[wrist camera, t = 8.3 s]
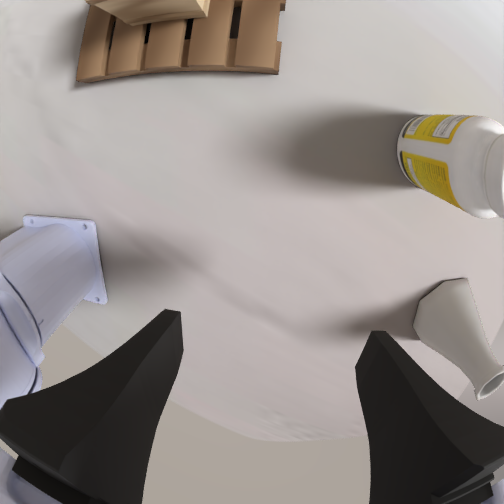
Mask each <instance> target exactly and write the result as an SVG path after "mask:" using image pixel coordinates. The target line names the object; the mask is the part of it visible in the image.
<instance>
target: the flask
mask: <svg viewBox="0 0 504 504" xmlns="http://www.w3.org/2000/svg"><path fill="white" fill-rule="evenodd" d="M413 328H414V329H415V331H416V333H417V335H418V336H419V338H420V340H421V342H423V343H424V344H426V345H427V346H428V347H430V348H432V349H433V350H435V351H436V352H438V353H439V354H441V355H442V356H444V357H445V358H447V359H448V360H449V361H451V362H452V363H453V364H455V365H456V366H457V367H459V368H460V369H461V370H462V371H463V372H464V374H465V375H466V376H467V377H468V378H469V379H470V380H471V382H472V384H473V386H474V388H475V390H474V392H475V396H476V400H477V401H478V400H481V399H483V398H485V397H488V396H489V395H490V394H492V393H493V392H494V391H495V390H496V389H498V388H499V387H500V386H501V385H502V383H503V382H504V365H503V366H501V365H500V364H499V362H498V361H497V359H496V357H495V356H494V354H493V352H492V349H491V347H490V345H489V342H488V340H487V338H486V335H485V331H484V328H483V325H482V321H481V318H480V315H479V312H478V309H477V305H476V302H475V299H474V296H473V293H472V290H471V287H470V284H469V282H468V279H467V278H465V279H458V280H451V281H444V282H443V283H442V284H441V285H439V286H438V287H437V288H436V289H434V290H433V291H432V292H431V293H429V294H428V295H427V296H426V297H424V298H423V299H422V300H420V302H419V306H418V310H417V313H416V317H415V320H414V324H413Z"/></svg>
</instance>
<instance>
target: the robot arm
mask: <svg viewBox="0 0 504 504" xmlns="http://www.w3.org/2000/svg"><path fill="white" fill-rule="evenodd" d="M23 223H24V227H23V228H21V229H19V230H17V231H16V232H14V233H13V234H11V235H9V236H8V237H6V238H4V239H3V240H1V241H0V439H2V440H3V441H4V442H5V443H6V444H7V445H8V446H9V447H10V448H11V449H12V450H13V451H15V452H16V453H17V454H18V455H19V456H18V458H17V460H15V459H14V458H13V457H12V456H10V455H9V454H8V453H7V452H5V451H4V450H3V449H1V448H0V504H142V497H143V490H144V484H145V478H146V472H147V466H148V462H149V457H150V453H151V448H152V444H153V440H154V436H155V432H156V428H157V425H158V422H159V419H160V416H161V414H162V411H163V409H164V406H165V404H166V401H167V399H168V396H169V394H170V391H171V389H172V386H173V384H174V381H175V379H176V376H177V374H178V370H179V367H180V363H181V359H182V355H183V351H184V349H183V338H182V325H181V312H180V311H174V310H168V309H165V310H163V311H162V312H161V313H160V314H158V315H157V316H156V317H155V318H154V319H153V320H152V321H151V322H149V323H148V324H147V325H146V326H145V327H144V328H143V329H141V330H140V331H139V332H138V333H137V334H135V335H134V336H133V337H132V338H131V339H129V340H128V341H127V342H126V343H124V344H123V345H122V346H120V347H119V348H118V349H116V350H115V351H114V352H112V353H111V354H110V355H108V356H107V357H106V358H104V359H103V360H101V361H100V362H98V363H96V364H95V365H93V366H92V367H90V368H88V369H87V370H85V371H83V372H81V373H79V374H77V375H75V376H73V377H71V378H69V379H67V380H65V381H63V382H61V383H58V384H56V385H54V386H51V387H49V388H46V389H43V390H40V389H41V385H42V373H41V370H40V368H39V365H40V363H41V362H42V361H43V359H44V358H45V355H44V354H43V352H42V349H41V348H42V346H43V345H44V344H45V342H46V341H47V340H48V339H49V338H50V336H51V335H52V334H53V333H54V331H55V330H56V329H57V328H58V327H59V325H60V324H61V323H62V322H63V321H64V320H65V319H66V317H67V316H68V315H69V314H70V313H71V312H72V311H73V309H74V308H75V307H76V306H77V305H78V304H79V303H80V302H81V300H82V299H83V300H87V301H91V302H95V303H99V304H106V303H107V301H108V298H107V293H106V289H105V283H104V278H103V272H102V267H101V260H100V254H99V247H98V240H97V231H96V225H95V223H94V222H93V221H92V220H84V219H72V218H60V217H48V216H35V215H26V216H24V217H23ZM85 225H86V226H87V228H86V227H85ZM97 297H98V298H99V299H98V298H97ZM355 370H356V381H357V389H358V393H359V398H360V402H361V406H362V411H363V415H364V419H365V424H366V428H367V433H368V439H369V446H370V462H371V486H370V501H369V504H504V479H502V480H501V481H499V482H497V483H496V484H494V485H493V486H491V484H490V481H492V480H493V479H494V475H493V472H494V471H495V470H497V469H498V468H499V467H501V466H502V465H503V464H504V427H503V426H500V425H498V424H496V423H493V422H492V421H490V420H488V419H486V418H484V417H482V416H480V415H479V414H477V413H475V412H474V411H472V410H471V409H469V408H468V407H466V406H465V405H463V404H462V403H460V402H459V401H458V400H456V399H455V398H454V397H453V396H451V395H450V394H449V393H448V392H446V391H445V390H444V389H443V388H442V387H440V386H439V385H438V384H437V383H436V382H435V381H434V380H433V379H432V378H431V377H430V376H429V375H428V374H427V373H426V372H425V371H424V370H423V369H422V368H421V367H420V366H419V365H418V364H417V363H416V362H415V361H414V360H413V359H412V358H411V357H410V356H409V355H408V354H407V353H406V352H405V351H404V349H403V348H402V347H401V346H400V345H399V344H398V343H397V342H396V341H395V340H394V339H393V338H392V337H391V336H390V335H389V334H388V333H387V332H386V331H371V333H370V336H369V338H368V340H367V342H366V345H365V347H364V349H363V351H362V353H361V355H360V358H359V360H358V362H357V364H356V366H355Z"/></svg>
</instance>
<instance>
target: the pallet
mask: <svg viewBox="0 0 504 504" xmlns="http://www.w3.org/2000/svg"><path fill="white" fill-rule="evenodd" d="M285 3H286V0H210V4H209V10H208V16H207V17H203V18H194V21H193V27H192V33H191V39H187V40H184V39H185V32H186V26H187V20H188V19H177V20H168V21H160V22H153V23H151V28H150V34H149V40H148V43H147V44H144V40H145V34H146V28H147V24H141V25H135V26H132V25H130V24H126V23H124V22H123V20H121V19H119V18H118V17H116V16H114V15H112V14H110V13H109V12H107V11H105V10H103V9H101V8H99V7H97V6H95V5H90V9H89V13H88V17H87V21H86V25H85V29H84V34H83V39H82V44H81V50H80V56H79V62H78V69H77V77H76V81H78V82H84V83H89V82H94V81H99V80H105V79H110V78H117V77H123V76H131V75H139V74H148V73H159V72H174V71H242V72H257V73H268V74H278V72H279V63H280V53H281V43H282V42H278V41H277V32H278V22H279V13H280V10H284V11H285ZM233 8H242V10H241V17H240V25H239V33H238V39H229V37H230V29H231V22H232V15H233ZM115 21H116V24H115V29H114V34H113V40H112V45H111V50H109V44H110V38H111V33H112V28H113V23H114V22H115Z"/></svg>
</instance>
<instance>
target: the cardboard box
mask: <svg viewBox="0 0 504 504" xmlns="http://www.w3.org/2000/svg"><path fill="white" fill-rule="evenodd" d="M85 1H86V3H88V4H90V5H95V6H97V7H99V8H101V9H103V10H105V11H107V12H109V13H110V14H112V15H114V16H116V17H118V18H119V19H121V20H123V22H124V23H126V24H130V25H132V26H135V25H141V24H147V23H153V22H160V21H168V20H177V19H188V18H203V17H207V16H208V10H209V4H210V0H85Z"/></svg>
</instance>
